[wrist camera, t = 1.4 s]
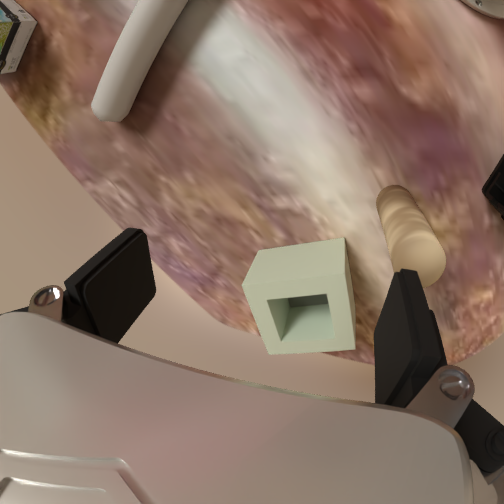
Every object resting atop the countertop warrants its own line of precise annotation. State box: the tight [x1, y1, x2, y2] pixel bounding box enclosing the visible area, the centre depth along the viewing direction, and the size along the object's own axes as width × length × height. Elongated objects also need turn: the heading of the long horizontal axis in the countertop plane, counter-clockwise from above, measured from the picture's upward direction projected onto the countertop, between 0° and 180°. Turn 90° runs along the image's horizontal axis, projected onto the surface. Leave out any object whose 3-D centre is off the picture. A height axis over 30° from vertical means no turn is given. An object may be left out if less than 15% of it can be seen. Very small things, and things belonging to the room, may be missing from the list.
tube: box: [91, 0, 188, 122], centre depth 23 cm, size 5×5×25 cm
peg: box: [376, 185, 446, 288], centre depth 24 cm, size 4×4×12 cm
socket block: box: [242, 238, 356, 354], centre depth 33 cm, size 10×10×7 cm
